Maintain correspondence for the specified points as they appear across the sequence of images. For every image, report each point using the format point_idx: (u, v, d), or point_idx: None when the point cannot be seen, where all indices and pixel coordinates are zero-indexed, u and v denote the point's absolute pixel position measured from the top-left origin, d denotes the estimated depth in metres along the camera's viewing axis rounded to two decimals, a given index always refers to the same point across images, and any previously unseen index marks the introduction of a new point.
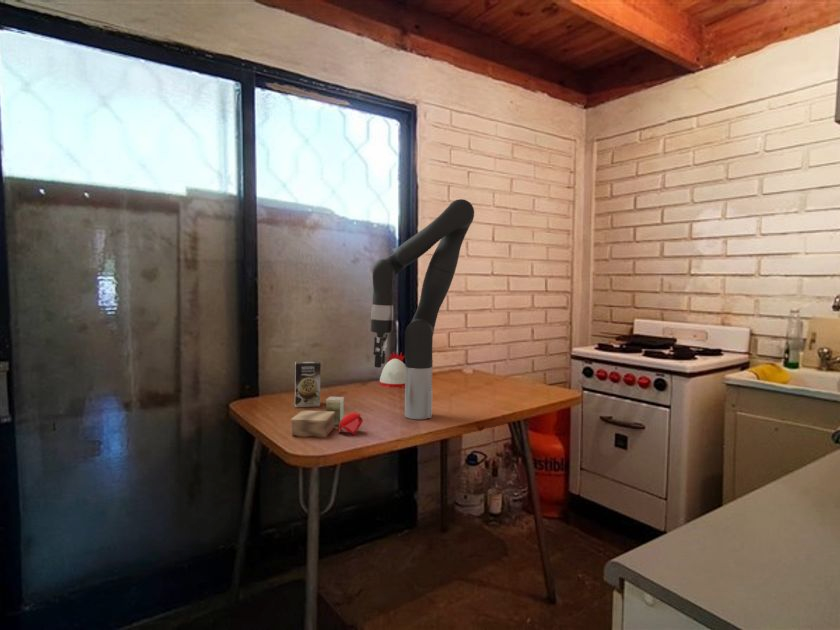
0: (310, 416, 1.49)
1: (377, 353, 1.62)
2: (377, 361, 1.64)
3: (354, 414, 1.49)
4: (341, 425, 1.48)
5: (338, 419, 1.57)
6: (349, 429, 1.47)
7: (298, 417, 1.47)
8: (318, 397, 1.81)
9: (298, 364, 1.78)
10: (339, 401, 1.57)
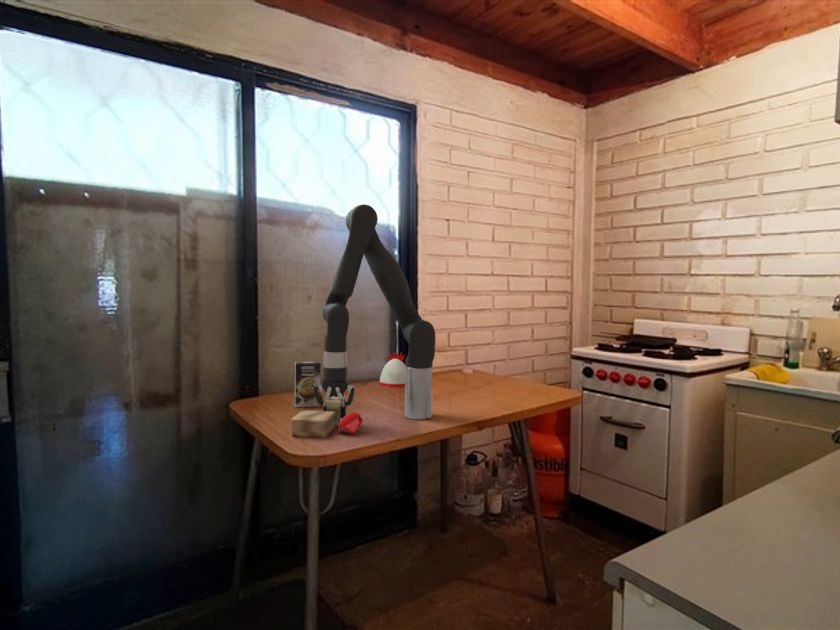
0: (310, 416, 1.49)
1: (351, 402, 1.59)
2: (345, 411, 1.59)
3: (354, 414, 1.49)
4: (341, 425, 1.48)
5: (338, 419, 1.57)
6: (349, 429, 1.47)
7: (298, 417, 1.47)
8: None
9: (298, 364, 1.78)
10: (339, 401, 1.57)
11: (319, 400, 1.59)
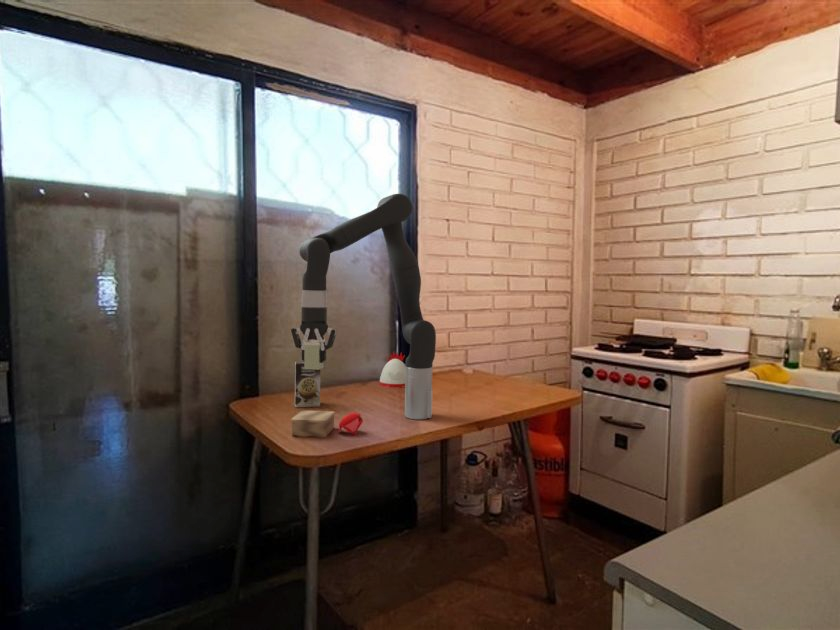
0: (310, 416, 1.49)
1: (331, 346, 1.48)
2: (325, 355, 1.49)
3: (354, 414, 1.49)
4: (341, 425, 1.48)
5: (317, 363, 1.47)
6: (349, 429, 1.47)
7: (298, 417, 1.47)
8: (318, 397, 1.81)
9: (298, 364, 1.78)
10: (318, 343, 1.46)
11: (297, 343, 1.48)
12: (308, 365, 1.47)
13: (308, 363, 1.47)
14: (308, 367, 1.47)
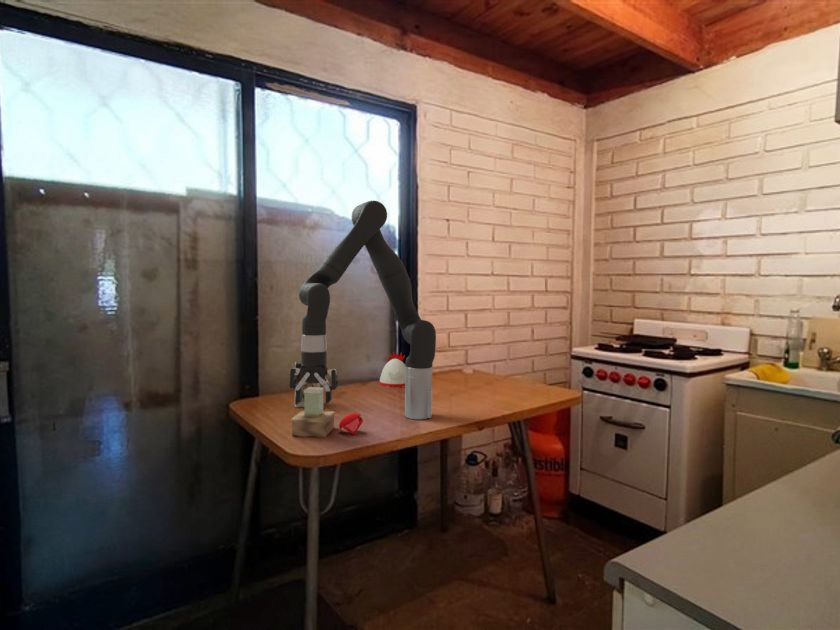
0: None
1: (336, 386, 1.49)
2: (331, 396, 1.49)
3: (354, 414, 1.49)
4: (341, 425, 1.48)
5: (317, 411, 1.48)
6: (349, 429, 1.47)
7: (298, 417, 1.47)
8: None
9: (298, 364, 1.78)
10: (318, 392, 1.47)
11: (291, 384, 1.49)
12: (308, 413, 1.48)
13: (308, 411, 1.48)
14: (308, 415, 1.48)
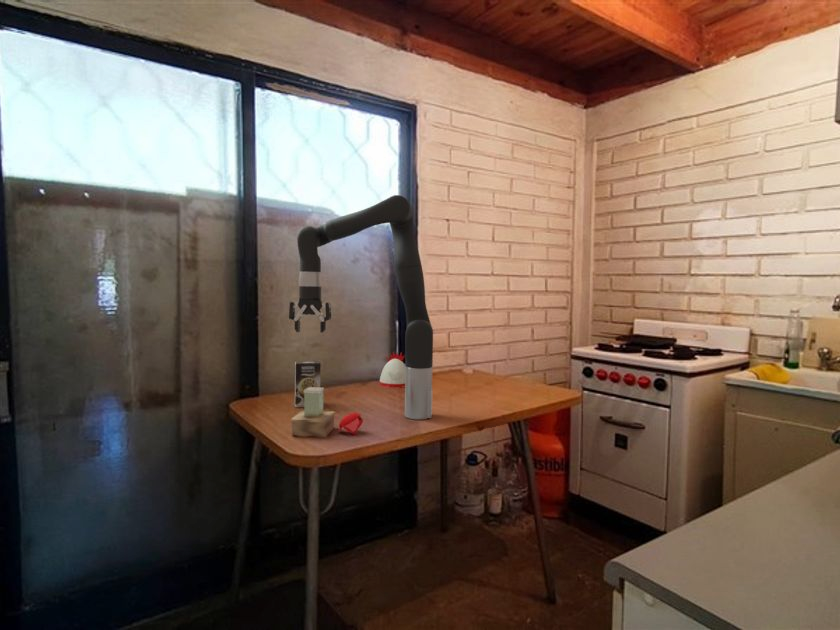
0: None
1: (330, 317, 1.70)
2: (325, 326, 1.71)
3: (354, 414, 1.49)
4: (341, 425, 1.48)
5: (317, 411, 1.48)
6: (349, 429, 1.47)
7: (298, 417, 1.47)
8: None
9: (298, 364, 1.78)
10: (318, 392, 1.47)
11: (290, 315, 1.70)
12: (308, 413, 1.48)
13: (308, 411, 1.48)
14: (308, 415, 1.48)
